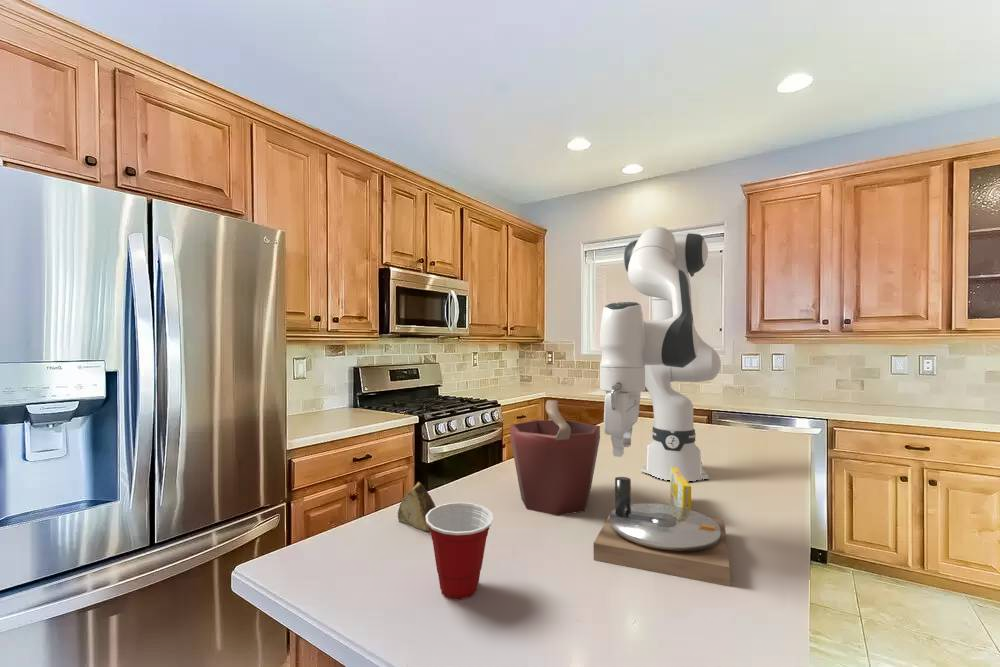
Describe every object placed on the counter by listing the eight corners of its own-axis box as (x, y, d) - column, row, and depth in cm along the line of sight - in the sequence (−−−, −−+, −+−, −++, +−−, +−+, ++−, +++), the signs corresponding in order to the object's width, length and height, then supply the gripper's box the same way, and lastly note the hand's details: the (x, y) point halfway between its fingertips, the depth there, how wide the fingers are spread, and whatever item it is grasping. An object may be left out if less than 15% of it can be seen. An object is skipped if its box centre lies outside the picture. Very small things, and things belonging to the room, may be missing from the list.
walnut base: (615, 518, 102) (615, 504, 102) (724, 534, 93) (724, 519, 93) (593, 559, 82) (593, 543, 82) (729, 586, 73) (729, 567, 73)
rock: (383, 510, 100) (394, 519, 92) (405, 475, 104) (418, 481, 95) (422, 534, 103) (437, 545, 94) (443, 500, 107) (458, 507, 98)
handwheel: (718, 518, 93) (718, 476, 93) (722, 560, 75) (721, 507, 75) (619, 504, 101) (618, 465, 101) (600, 539, 83) (599, 491, 83)
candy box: (692, 524, 99) (691, 486, 99) (681, 523, 99) (681, 485, 99) (678, 500, 115) (677, 466, 115) (669, 499, 115) (669, 466, 115)
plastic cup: (435, 617, 65) (435, 532, 65) (417, 581, 75) (417, 507, 75) (504, 600, 69) (504, 520, 69) (479, 568, 79) (479, 498, 79)
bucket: (591, 526, 97) (590, 409, 98) (493, 514, 104) (493, 405, 105) (603, 492, 120) (602, 397, 121) (522, 484, 128) (522, 394, 128)
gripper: (630, 385, 81) (631, 464, 80) (644, 379, 99) (644, 443, 99) (595, 384, 83) (595, 460, 83) (615, 378, 102) (615, 440, 101)
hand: (622, 451), depth 91 cm, fingers open, 8 cm apart
